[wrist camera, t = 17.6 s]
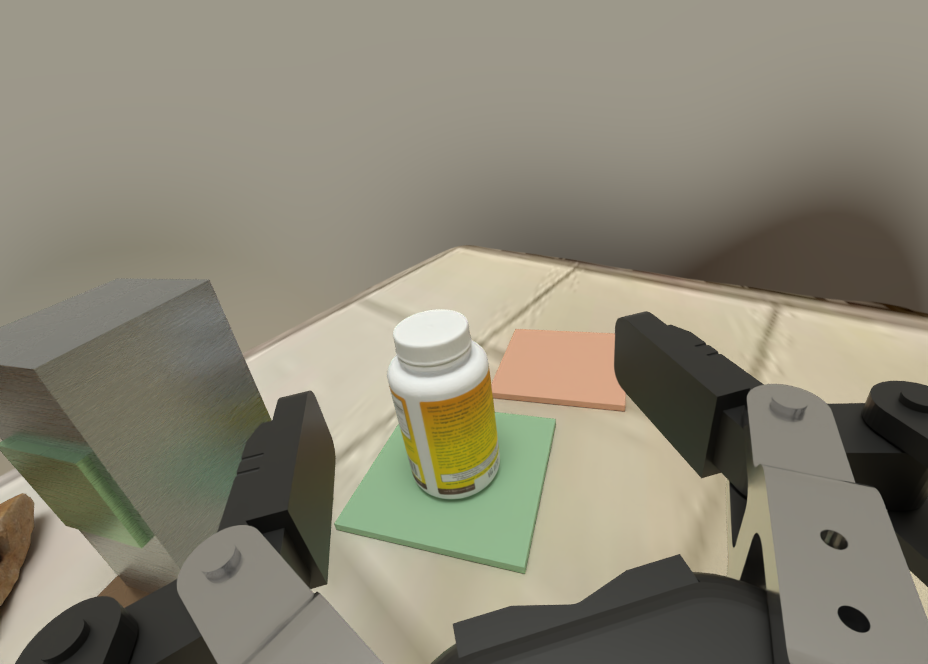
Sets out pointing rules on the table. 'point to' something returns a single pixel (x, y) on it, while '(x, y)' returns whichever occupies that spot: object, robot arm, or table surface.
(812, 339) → the table surface
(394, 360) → the supplement bottle
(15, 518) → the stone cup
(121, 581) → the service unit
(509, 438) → the green pad
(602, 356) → the terracotta pad
